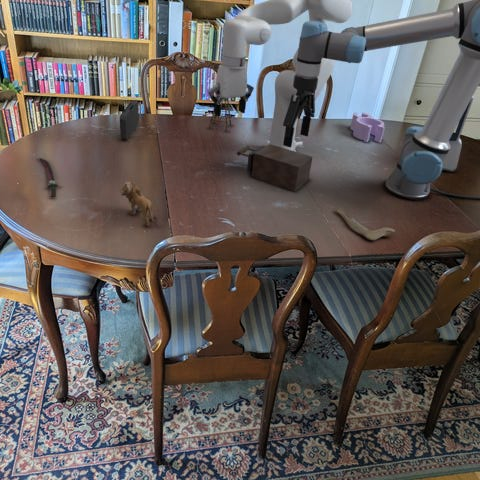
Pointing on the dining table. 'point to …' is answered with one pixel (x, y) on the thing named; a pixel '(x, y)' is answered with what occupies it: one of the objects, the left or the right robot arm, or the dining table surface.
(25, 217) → the dining table surface
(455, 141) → the electronic device
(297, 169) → the dark wooden block
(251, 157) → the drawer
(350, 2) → the left robot arm
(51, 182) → the sword
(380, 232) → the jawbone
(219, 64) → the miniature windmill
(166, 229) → the dining table surface
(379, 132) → the clip
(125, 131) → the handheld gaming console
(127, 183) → the lion figurine
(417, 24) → the right robot arm
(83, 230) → the dining table surface
